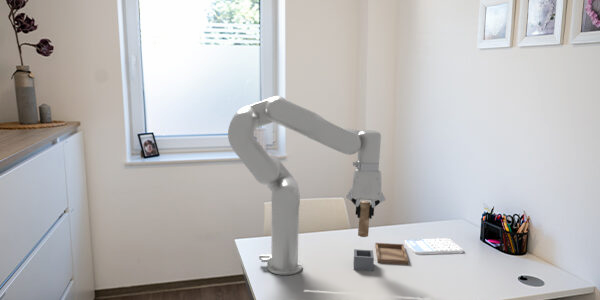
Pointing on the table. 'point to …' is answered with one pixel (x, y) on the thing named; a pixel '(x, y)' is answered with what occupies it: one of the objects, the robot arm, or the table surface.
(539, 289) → the table surface
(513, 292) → the table surface
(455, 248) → the calculator
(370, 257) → the pen cup
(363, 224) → the dowel
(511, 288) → the table surface
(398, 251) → the tray
